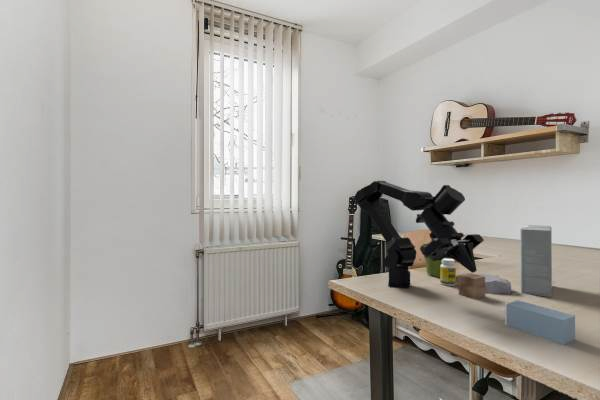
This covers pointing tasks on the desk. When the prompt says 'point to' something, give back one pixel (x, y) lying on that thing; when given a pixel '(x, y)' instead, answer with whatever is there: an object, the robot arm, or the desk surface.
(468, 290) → the walnut block
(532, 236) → the hard drive box
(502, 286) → the stone block
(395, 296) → the desk surface
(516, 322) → the slate block
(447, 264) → the supplement bottle
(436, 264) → the plant pot
